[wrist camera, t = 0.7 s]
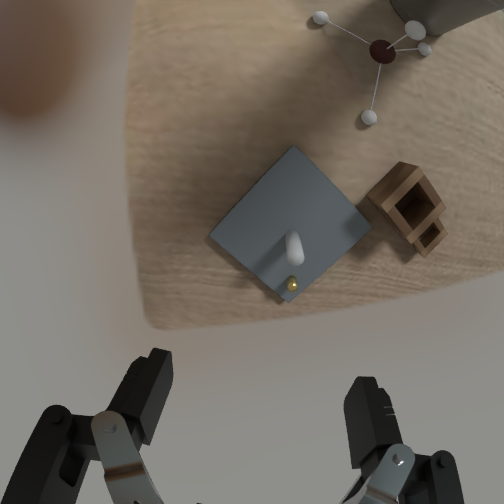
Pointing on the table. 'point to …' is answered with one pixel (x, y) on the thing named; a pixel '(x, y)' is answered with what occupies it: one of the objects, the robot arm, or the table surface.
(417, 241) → the brown hollow open box
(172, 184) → the table surface
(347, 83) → the table surface
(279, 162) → the slate board
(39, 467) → the robot arm
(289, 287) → the brass dowel
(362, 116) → the molecular model
